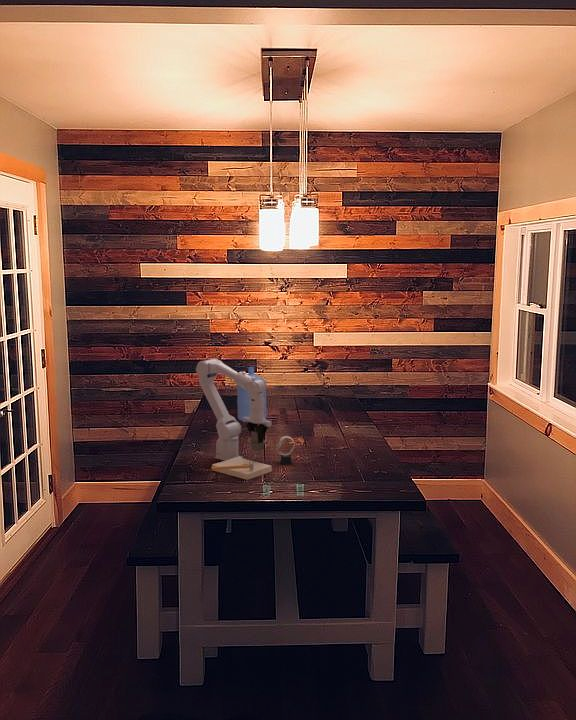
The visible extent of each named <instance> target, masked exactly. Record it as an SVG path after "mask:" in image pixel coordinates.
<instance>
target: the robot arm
mask: <svg viewBox="0 0 576 720" xmlns="http://www.w3.org/2000/svg"><path fill="white" fill-rule="evenodd" d="M195 372H196V374H197V376H198V383H199V386H200V387H201V389H202V391H203V394H204V396H205V397H206V400H207V402H208V404H209V406H210V407H211V409H212V412H213V414H214V416H215V418H216V420H217V421H216V424H215V427H216V430H217V435H218V437H219V438H217V441H216V442H215V443H216V444H215V447H216V448H215V449H216V450H215V451H216V455H215V457H214V459H217V460H220V461H226V460H229V459H232V458H235V457H238V458H242V459H244V457H243V456H241V455H239V454H240V453H239V437H240V434H241V432H242V426H241V424H240V422H238V421H237V420H236V417H234V416H232V415H230V413H229V412H228V410H227V407H226V405H225V403H224V401H223V400H222V397H221V396H220V393H219V390H218V389H217V388H216V386H215V383H214V381H215V378H216V377H217V376H218V374H221V375H223V376H225V377H227V378H229V379H232V380H233V383H234V384H235V385H236V386H237V385H239V386H240V387H242V388H244V389H246V390H247V392H248V394H249V398H250V417H243V421H242V422H243V423H246V424H245V427H246V429H247V430H248V432H249V435H250V437H251V431H253V430H254V427H256V429H257V432H258V440H259V442H263V440H264V439H265V436H266V432H267V431H268V428H269V427H272V421H270V420H269V419H267V418H266V419H265V418H264V397H263V392H264V391H265V389H266V390H267V383H266V384H265V382H264V381H263V380H262V379H263V378H262V379H257V380H256V379H255V377H251V376H249V375H248V374H247V372H246V371H239V372H238V371H236V370H234V369H233V368H231V367H230V366H228V365H227V364H225V363H223V361H222V360H219V359H217V358H215V357H214V358H211V359H207V360H200V361H199V362H198V363H197V365H196V367H195ZM264 441H265V440H264Z"/></svg>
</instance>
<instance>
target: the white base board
mask: <svg viewBox="0 0 576 720" xmlns="http://www.w3.org/2000/svg"><path fill="white" fill-rule="evenodd" d="M249 463H254V469H253V470H250V469H249V468H240V469H224V470H212V471H215V472H216V473H222V474H225V475H228V476H232V477H235V478H239V479H241V480H242V479H243V480H246V481H249V480H251V479H255V478H257V477H260V476H263V475H265V474H269V473H271V472H272V471H273V468H272V467H273V466H272V465H270V464H267V463H266V464H265V463H261V462H257V461H255V460H250V459H246V458H238V457H235V458H232V459H229V460H226V461H224V460H221V461H220V462H217V463H213V464H211V468H212V467H221V466H236V465H249Z"/></svg>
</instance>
